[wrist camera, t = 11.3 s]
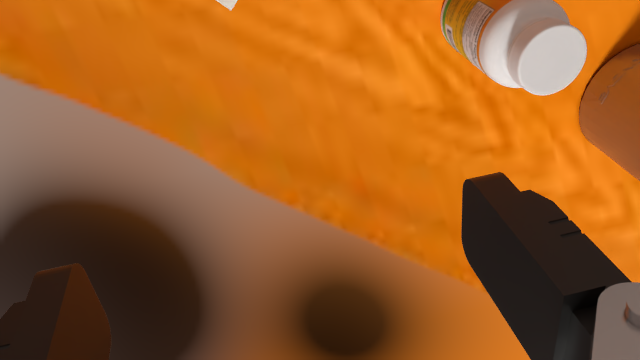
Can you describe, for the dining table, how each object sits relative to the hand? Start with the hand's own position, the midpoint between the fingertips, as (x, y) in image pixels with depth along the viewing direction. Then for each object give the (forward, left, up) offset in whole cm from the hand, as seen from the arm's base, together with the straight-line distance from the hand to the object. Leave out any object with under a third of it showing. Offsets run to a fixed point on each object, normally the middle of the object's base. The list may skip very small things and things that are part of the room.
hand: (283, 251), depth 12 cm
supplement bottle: (-15, -8, -26) cm, 31 cm away
